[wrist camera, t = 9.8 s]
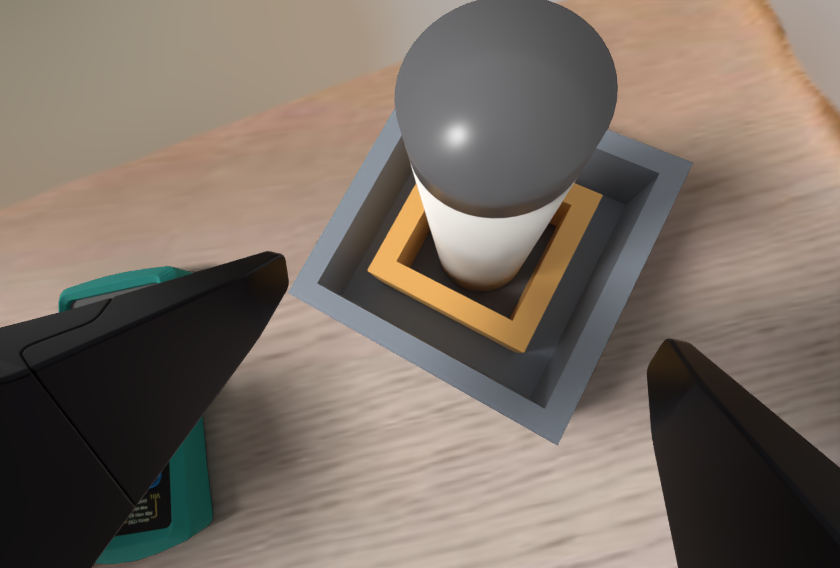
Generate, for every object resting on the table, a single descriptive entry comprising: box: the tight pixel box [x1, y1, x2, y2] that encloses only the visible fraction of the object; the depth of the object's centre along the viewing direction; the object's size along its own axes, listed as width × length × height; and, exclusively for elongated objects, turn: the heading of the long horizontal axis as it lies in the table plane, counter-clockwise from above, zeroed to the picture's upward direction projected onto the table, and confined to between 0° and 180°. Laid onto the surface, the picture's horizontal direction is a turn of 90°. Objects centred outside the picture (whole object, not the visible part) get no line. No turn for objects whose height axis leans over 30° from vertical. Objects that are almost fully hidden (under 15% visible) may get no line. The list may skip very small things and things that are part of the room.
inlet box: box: [288, 109, 693, 446], centre depth 19 cm, size 13×13×4 cm
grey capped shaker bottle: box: [395, 0, 618, 292], centre depth 14 cm, size 4×4×12 cm
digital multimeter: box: [59, 266, 213, 564], centre depth 21 cm, size 7×15×3 cm, turn 10°
